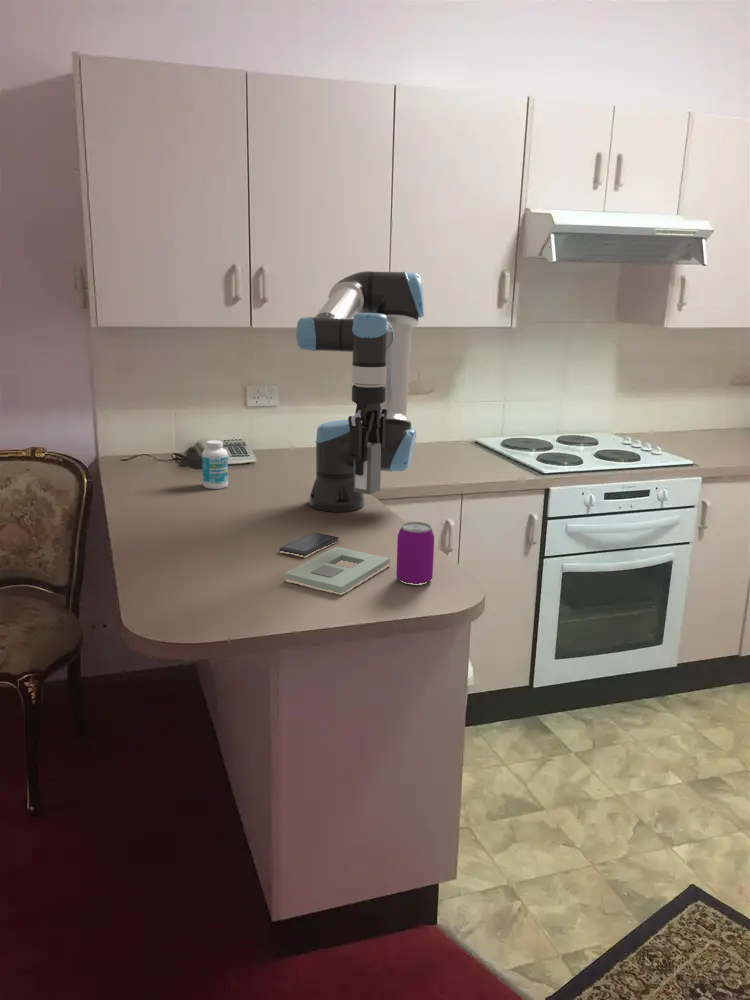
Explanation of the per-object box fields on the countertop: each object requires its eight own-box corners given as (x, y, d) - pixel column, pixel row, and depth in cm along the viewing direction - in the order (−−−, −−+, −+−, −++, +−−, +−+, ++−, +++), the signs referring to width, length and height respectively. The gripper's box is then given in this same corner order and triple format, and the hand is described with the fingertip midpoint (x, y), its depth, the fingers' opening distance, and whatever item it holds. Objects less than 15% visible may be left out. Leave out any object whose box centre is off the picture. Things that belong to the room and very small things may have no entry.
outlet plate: (336, 554, 186) (336, 545, 185) (389, 566, 179) (390, 557, 178) (284, 581, 169) (284, 572, 168) (341, 596, 162) (341, 585, 162)
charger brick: (363, 487, 190) (364, 440, 187) (380, 490, 188) (381, 442, 185) (353, 491, 187) (354, 443, 183) (370, 494, 184) (371, 446, 181)
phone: (313, 536, 198) (313, 531, 197) (338, 542, 194) (338, 536, 194) (279, 552, 186) (279, 547, 186) (304, 558, 183) (304, 553, 182)
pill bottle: (210, 491, 236) (209, 445, 232) (198, 485, 241) (196, 441, 238) (233, 487, 240) (232, 442, 237) (220, 482, 246) (219, 438, 242)
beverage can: (394, 573, 175) (396, 520, 172) (429, 573, 175) (432, 520, 172) (397, 587, 168) (399, 532, 164) (434, 587, 168) (437, 532, 165)
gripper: (373, 378, 190) (371, 475, 196) (333, 387, 175) (332, 492, 182) (402, 381, 186) (399, 479, 193) (363, 391, 171) (361, 497, 178)
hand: (366, 485), depth 187 cm, fingers closed on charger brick, 4 cm apart
